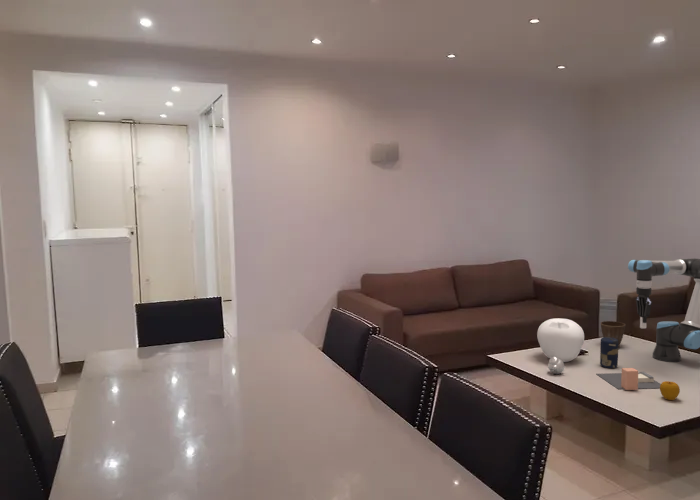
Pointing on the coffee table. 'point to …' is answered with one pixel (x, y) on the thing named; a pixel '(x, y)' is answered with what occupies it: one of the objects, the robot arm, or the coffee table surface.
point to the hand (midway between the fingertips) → (643, 327)
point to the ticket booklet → (645, 377)
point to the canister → (609, 352)
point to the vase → (560, 338)
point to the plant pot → (613, 330)
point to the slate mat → (616, 381)
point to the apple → (669, 390)
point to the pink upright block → (629, 379)
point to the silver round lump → (556, 365)
